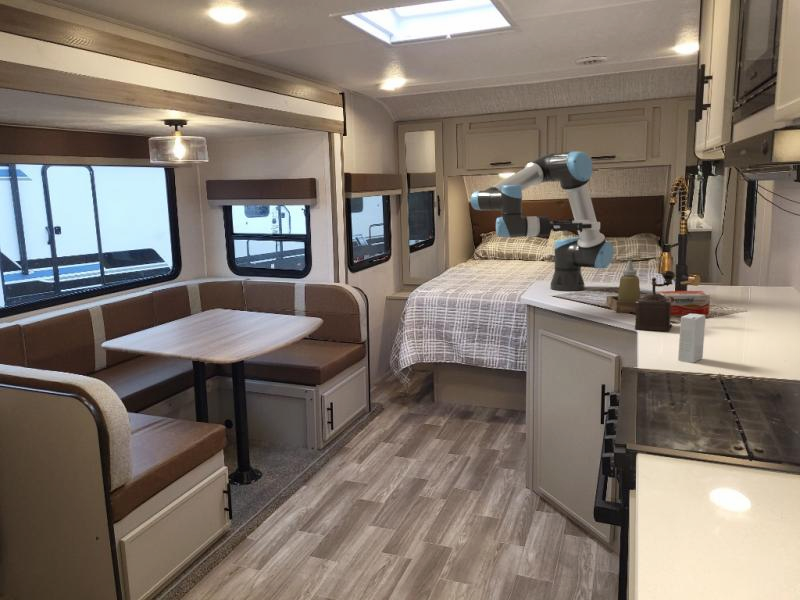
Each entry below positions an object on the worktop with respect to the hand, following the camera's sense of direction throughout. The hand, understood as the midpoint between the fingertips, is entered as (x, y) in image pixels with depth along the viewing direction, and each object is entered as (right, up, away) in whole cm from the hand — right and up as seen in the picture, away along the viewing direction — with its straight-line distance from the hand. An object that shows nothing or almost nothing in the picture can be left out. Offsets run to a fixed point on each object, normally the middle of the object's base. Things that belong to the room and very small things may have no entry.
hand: (594, 224), depth 232 cm
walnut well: (+14, -32, +2) cm, 35 cm away
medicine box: (+29, -34, -9) cm, 45 cm away
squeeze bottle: (+14, -32, +2) cm, 34 cm away
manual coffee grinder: (+12, -37, -26) cm, 47 cm away
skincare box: (+5, -44, -66) cm, 80 cm away
